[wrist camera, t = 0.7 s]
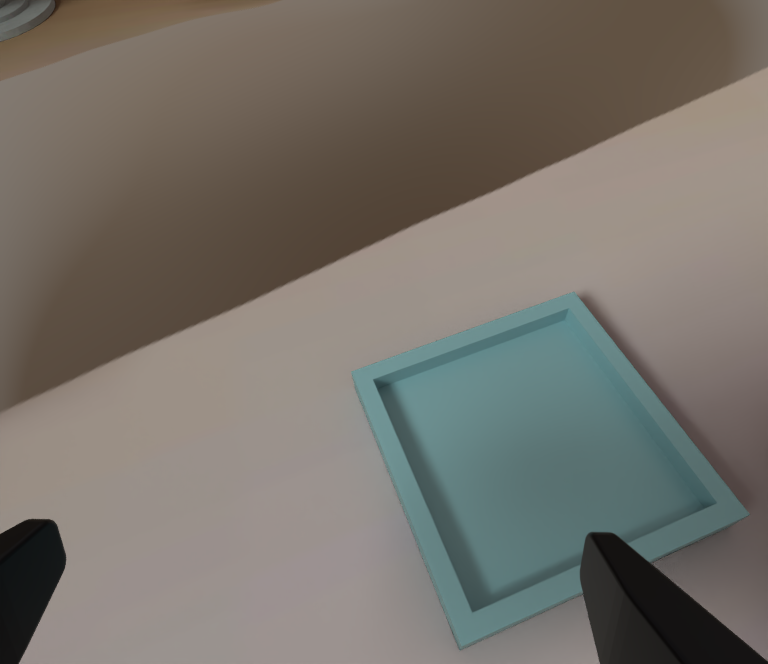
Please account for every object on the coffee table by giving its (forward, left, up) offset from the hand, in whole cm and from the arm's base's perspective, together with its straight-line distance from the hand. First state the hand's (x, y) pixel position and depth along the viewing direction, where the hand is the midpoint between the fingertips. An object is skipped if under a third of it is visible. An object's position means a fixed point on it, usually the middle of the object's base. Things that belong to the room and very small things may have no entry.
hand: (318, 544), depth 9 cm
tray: (+4, -9, -14) cm, 17 cm away
